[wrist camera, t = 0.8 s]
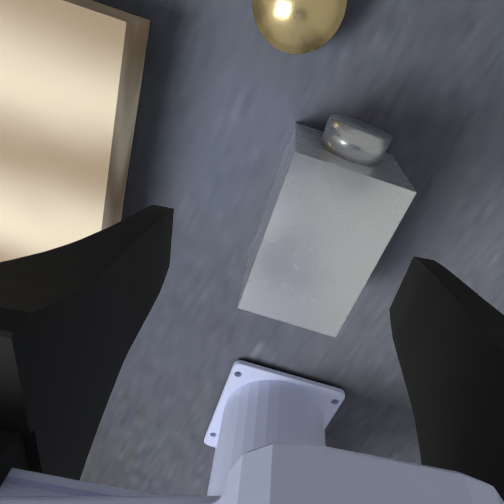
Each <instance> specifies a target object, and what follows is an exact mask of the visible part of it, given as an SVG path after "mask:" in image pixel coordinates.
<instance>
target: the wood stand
mask: <svg viewBox="0 0 504 504" xmlns="http://www.w3.org/2000/svg"><path fill="white" fill-rule="evenodd" d="M150 21H151V20H148V19H145V18H142V17H139V16H136V15H133V14H130V13H127V12H124V11H122V10H119V9H116V8H113V7H110V6H107V5H104V4H101V3H98V2H95V1H92V0H0V262H3V261H8V260H12V259H16V258H20V257H24V256H29V255H33V254H37V253H41V252H45V251H48V250H51V249H54V248H58V247H61V246H64V245H67V244H70V243H72V242H75V241H78V240H80V239H83V238H85V237H87V236H90V235H92V234H94V233H97V232H99V231H101V230H103V229H106V228H108V227H110V226H112V225H114V224H116V223H118V222H120V221H121V217H122V210H123V203H124V196H125V190H126V183H127V176H128V169H129V163H130V156H131V149H132V143H133V136H134V129H135V122H136V116H137V109H138V102H139V95H140V89H141V82H142V75H143V68H144V62H145V55H146V48H147V41H148V35H149V28H150Z"/></svg>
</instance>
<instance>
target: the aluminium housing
mask: <svg viewBox="0 0 504 504" xmlns="http://www.w3.org/2000/svg"><path fill="white" fill-rule="evenodd" d="M392 139H393V138H392V137H391V136H390V135H389V134H388V133H386V132H385V131H383V130H381V129H380V128H378V127H376V126H373V125H371V124H369V123H366V122H364V121H361V120H358V119H356V118H353V117H349V116H345V115H341V114H330V116H329V119H328V121H327V124H326V126H325V129H324V131H320V130H317V129H314V128H311V127H309V126H306V125H303V124H300V123H297V122H295V125H294V128H293V131H292V133H291V136H290V139H289V142H288V145H287V147H286V150H285V153H284V156H283V159H282V162H281V164H280V167H279V170H278V173H277V176H276V178H275V181H274V184H273V187H272V190H271V192H270V195H269V198H268V201H267V204H266V207H265V209H264V212H263V215H262V218H261V221H260V223H259V226H258V229H257V232H256V235H255V237H254V240H253V243H252V246H251V249H250V252H249V254H248V258H247V263H246V268H245V273H244V278H243V283H242V288H241V293H240V299H239V304H238V308H240V309H243V310H246V311H250V312H253V313H256V314H259V315H263V316H266V317H269V318H273V319H276V320H279V321H283V322H286V323H289V324H293V325H296V326H299V327H303V328H306V329H309V330H313V331H316V332H319V333H323V334H326V335H329V336H333V337H336V336H337V334H338V332H339V330H340V328H341V327H342V325H343V323H344V321H345V319H346V318H347V316H348V314H349V312H350V311H351V309H352V307H353V305H354V303H355V302H356V300H357V298H358V296H359V294H360V293H361V291H362V289H363V287H364V286H365V284H366V282H367V280H368V278H369V277H370V275H371V273H372V271H373V270H374V268H375V266H376V264H377V262H378V261H379V259H380V257H381V255H382V253H383V252H384V250H385V248H386V246H387V245H388V243H389V241H390V239H391V237H392V236H393V234H394V232H395V230H396V228H397V227H398V225H399V223H400V221H401V220H402V218H403V216H404V214H405V212H406V211H407V209H408V207H409V205H410V203H411V202H412V200H413V198H414V196H415V195H416V193H417V192H416V191H415V189H414V188H413V186H412V185H411V183H410V182H409V180H408V179H407V177H406V175H405V174H404V172H403V171H402V169H401V168H400V166H399V165H398V163H397V162H396V160H395V159H394V157H393V156H392V155H391V154H388V153H386V151H387V149H388V147H389V145H390V143H391V141H392Z"/></svg>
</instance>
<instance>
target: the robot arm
mask: <svg viewBox="0 0 504 504" xmlns="http://www.w3.org/2000/svg"><path fill="white" fill-rule="evenodd" d="M173 212H174V209H172V208H167V207H162V206H157V205H152V206H149V207H147V208H145V209H143V210H141V211H139V212H137V213H136V214H134V215H132V216H130V217H128V218H126V219H124V220H122V221H120V222H118V223H116V224H114V225H112V226H110V227H108V228H106V229H103V230H101V231H99V232H97V233H94V234H92V235H90V236H87V237H85V238H83V239H80V240H78V241H75V242H72V243H70V244H67V245H64V246H61V247H58V248H54V249H51V250H48V251H45V252H41V253H37V254H33V255H29V256H24V257H20V258H16V259H12V260H8V261H3V262H0V504H504V315H503V314H502V313H500V312H499V311H498V310H496V309H495V308H494V307H493V306H491V305H490V304H489V303H488V302H486V301H485V300H484V299H483V298H482V297H480V296H479V295H478V294H477V293H475V292H474V291H473V290H472V289H471V288H469V287H468V286H467V285H466V284H465V283H463V282H462V281H461V280H460V279H459V278H457V277H456V276H455V275H454V274H452V273H451V272H450V271H449V270H447V269H446V268H445V267H443V266H442V265H440V264H439V263H437V262H436V261H434V260H429V259H424V258H419V257H413V259H412V262H411V264H410V266H409V268H408V270H407V272H406V275H405V277H404V279H403V281H402V283H401V285H400V288H399V290H398V292H397V294H396V296H395V298H394V301H393V303H392V305H391V307H390V319H391V328H392V335H393V340H394V344H395V348H396V352H397V355H398V359H399V362H400V366H401V369H402V373H403V376H404V380H405V383H406V387H407V390H408V394H409V397H410V401H411V405H412V409H413V413H414V417H415V423H416V429H417V435H418V441H419V447H420V454H421V461H422V465H421V464H415V463H410V462H405V461H400V460H394V459H389V458H384V457H379V456H373V455H368V454H363V453H358V452H352V451H347V450H342V449H337V448H332V447H326V442H325V428H326V427H327V425H328V424H329V422H330V421H331V419H332V417H333V416H334V414H335V413H336V411H337V410H338V408H339V406H340V405H341V403H342V402H343V400H344V399H345V393H344V391H343V390H342V389H340V388H336V387H333V386H329V385H326V384H322V383H319V382H315V381H312V380H308V379H305V378H301V377H298V376H294V375H291V374H287V373H284V372H280V371H277V370H273V369H270V368H266V367H263V366H260V365H256V364H253V363H249V362H246V361H242V360H239V361H236V362H235V363H234V364H233V367H232V369H231V372H230V374H229V377H228V379H227V382H226V384H225V387H224V390H223V392H222V395H221V397H220V400H219V402H218V405H217V407H216V410H215V412H214V415H213V417H212V420H211V423H210V425H209V428H208V430H207V433H206V435H205V439H204V442H205V444H206V445H209V446H212V447H216V449H215V455H214V460H213V466H212V471H211V477H210V482H209V487H208V493H207V496H159V495H154V494H149V493H144V492H138V491H133V490H128V489H122V488H117V487H112V486H106V485H101V484H96V483H90V482H85V481H80V477H81V474H82V471H83V468H84V465H85V462H86V459H87V457H88V454H89V451H90V448H91V446H92V443H93V440H94V437H95V434H96V432H97V429H98V426H99V423H100V421H101V418H102V415H103V413H104V410H105V408H106V405H107V402H108V400H109V397H110V394H111V392H112V389H113V387H114V384H115V382H116V379H117V377H118V374H119V372H120V369H121V367H122V364H123V362H124V360H125V358H126V355H127V353H128V351H129V349H130V347H131V345H132V344H133V342H134V340H135V338H136V336H137V334H138V332H139V330H140V329H141V327H142V325H143V323H144V321H145V319H146V317H147V316H148V314H149V312H150V310H151V308H152V306H153V304H154V302H155V300H156V299H157V297H158V295H159V293H160V290H161V288H162V285H163V282H164V280H165V277H166V274H167V271H168V268H169V263H170V250H171V238H172V225H173ZM238 372H241V373H238ZM334 399H336V400H334Z"/></svg>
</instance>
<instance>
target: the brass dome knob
mask: <svg viewBox="0 0 504 504" xmlns="http://www.w3.org/2000/svg"><path fill="white" fill-rule="evenodd" d="M346 5H347V0H252V7H253V14H254V18H255V22H256V24H257V27H258V29H259V31H260V32H261V34H262V35H263V37H264V38H265V39H266V40H267V41H268V42H269V43H270V44H271V45H272V46H273V47H275V48H277V49H278V50H281V51H283V52H286V53H290V54H303V53H308V52H311V51H314V50H316V49H318V48H320V47H321V46H323V45H324V44H325V43H326V42H328V41H329V40H330V39H331V38H332V36H333V35H334V34H335V33H336V31H337V30H338V28H339V26H340V24H341V22H342V20H343V17H344V14H345V11H346Z"/></svg>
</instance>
